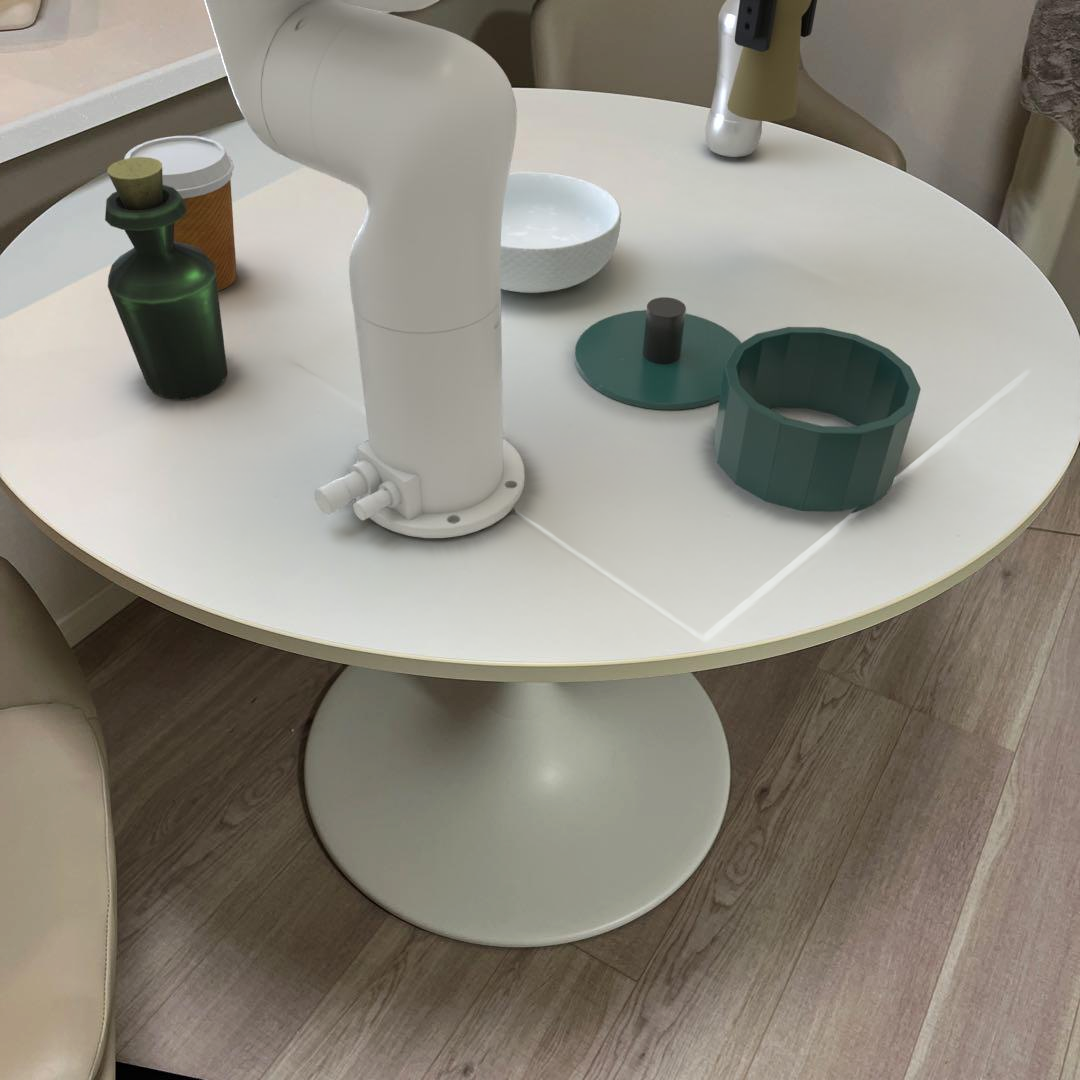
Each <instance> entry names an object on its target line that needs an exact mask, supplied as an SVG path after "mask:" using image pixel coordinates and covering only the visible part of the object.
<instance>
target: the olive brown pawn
mask: <svg viewBox="0 0 1080 1080" xmlns="http://www.w3.org/2000/svg"><path fill="white" fill-rule="evenodd" d="M810 3H811V0H777V4H776V11H775V17H774V23H773V30H772V36H771V42H770V47H769V49H768V50H767V51H764V52H761V51H757V50H754V49H750V48H747V47H743V48H742V52H741V56H740V59H739V63H738V67H737V71H736V74H735V78H734V82H733V86H732V89H731V93H730V97H729V100H728V104H727V107H728V110H729V111H731V112H732V113H733V114H735V115H737V116H740V117H743V118H747V119H751V120H757V121H762V122H780V121H785V120H789V119H791V118H793V117H795V116H796V114H797V109H798V95H799V94H798V92H799V91H798V90H799V73H800V54H801V53H800V52H801V19H802V16H803V14H804V13H805V12H806V11H807V9H808V8H809V5H810Z"/></svg>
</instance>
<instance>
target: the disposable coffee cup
mask: <svg viewBox="0 0 1080 1080" xmlns="http://www.w3.org/2000/svg"><path fill="white" fill-rule="evenodd" d="M136 157H147V158H153V159H157V160H159V161H160V162H161V163H162V178H163V185H166V186H169V187H173V188H174V189H175V190H177V191H178V192H179V194H180V195H181V197H182V199H183V200H184V202H185V204H186V205H187V212H186V213H185V215H184V216H183V217H182V218H181V219H180V220H178V221H176V222H174V241H175V242H179V243H184V244H187V245H190V246H193V247H196V248H199V249H200V250H201V251H202V252H203V253H204V254H205V255H206V256H207V257H208V258H209V259H210V260H211V261H212V262H213V263H214V265H215V271H216V279H217V288H218V292H219V291H221V290H224V289H226V288H227V287H229V286H231V285H232V284H233V283H234V282H235V281H236V279H237V276H238V275H237V259H236V245H235V231H234V230H235V228H234V212H233V197H232V183H231V182H232V181H231V179H232V176H233V171H234V168H235V167H234V166H235V165H234V161H233V159H232V158H231V156H229V155H228V153H227V150H226V149H225V146H224V145H223V144H221V143H220V142H218V141H217V140H215V139H212V138H210V137H205V136H197V135H174V136H167V137H165V136H164V137H160V138H155V139H152V140H147V141H145V142H143V143H141V144H138V145H136V146H133V148H131V149H130V150H129V151H127V153H126V154H125V156H124V159H128V158H136ZM124 159H123V160H124Z"/></svg>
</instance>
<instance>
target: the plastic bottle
mask: <svg viewBox="0 0 1080 1080" xmlns="http://www.w3.org/2000/svg"><path fill="white" fill-rule="evenodd" d="M739 3H740V0H725V2H724V3H723V4H722V5H721V8H720V11H719V12H718V16H717V17H718V19H717V44H718V45H717V47H718V49H717V50H718V53H717V55H718V56H717V70H716V81H715V86H714V91H713V95H712V101H711V106H710V107H711V108H710V109H709V112H708V115H707V117H706V118H707V120H706V122H705V129H704V131H705V143H706V144H707V146H708V148H709V150H710V151H711V152H713V153H714V154H717V155H720V156H723V157H729V158H741V157H747V156H750V155H751V154H753V153H754V151H755V150H756V149H757V148H758V145H759V144H760V141H761V137H762V135H763V134H762V133H763V121H757V120H751V119H747V118H743V117H740V116H737V115H735V114H733V113H732V112H731V111H729V110H728V107H727V104H728V100H729V97H730V93H731V89H732V86H733V82H734V78H735V74H736V71H737V67H738V63H739V59H740V56H741V52H742V48H743V46H740V45H737V44H736V43H735V32H736V25H737V17H738V10H739Z"/></svg>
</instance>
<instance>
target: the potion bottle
mask: <svg viewBox="0 0 1080 1080" xmlns="http://www.w3.org/2000/svg"><path fill="white" fill-rule="evenodd" d="M106 172H107V175H108V177H109V178H110V180H111V183H112V184H113V186H114V189H115V192H112V193H111V194H110V195H109V196H108V197H107V198H106V201H105V215H104V221H105V222H106V223H107V224H108V225H109V226H110V227H113V228H116V229H119V230H123V231H124V232H125V234H126V236H127V237H128V239H129V242H130V243H131V245H132V246H133V247H132V248H131V249H129V250H128V251H125V253H123V254H121V255H119V257H118V258H117V259H116V260H114V262H113V263H112V264H111V267H110V269H109V273H108V276H107V288H108V292H109V294H110V296H111V299H112V300H113V304H114V306H115V308H116V311H117V314H118V317H119V318H120V321H121V324H122V326H123V329H124V331H125V334H126V336H127V339H128V341H129V343H130V346H131V348H132V351H133V353H134V356H135V358H136V361H137V363H138V366H139V369H140V372H141V374H142V376H143V378H144V380H145V384H146V386H147V387H148V388H149V389H150V390H151V392H153V393H154V394H156V395H158V396H161V397H163V398H166V399H170V400H189V399H197V398H199V397H202V396H205V395H208V394H211V393H212V392H213V391H215V390H216V389H218V388H219V387H220V386H221V385H222V384H223V382H224V381H225V379H226V378H227V376H228V366H227V357H226V348H225V339H224V332H223V331H224V330H223V323H222V322H223V321H222V314H221V306H220V297H219V291H218V288H217V279H216V271H215V265H214V263H213V262H212V261H211V260H210V259H209V258H208V257H207V256H206V255H205V254H204V253H203V252H202V251H201V250H200V249H199V248H196V247H193V246H190V245H187V244H184V243H179V242H175V241H174V222H176V221H178V220H180V219H181V218H182V217H183V216H184V215H185V213H186V212H187V205H186V204H185V202H184V200H183V199H182V197H181V195H180V194H179V192H178V191H177V190H175V189H174V188H173V187H169V186H166V185H163V178H162V163H161V162H160V161H159V160H157V159H153V158H147V157H136V158H128V159H120V160H118V161H116V162H113V163H112V164H111V165H110V166H109V167H107V171H106Z"/></svg>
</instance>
